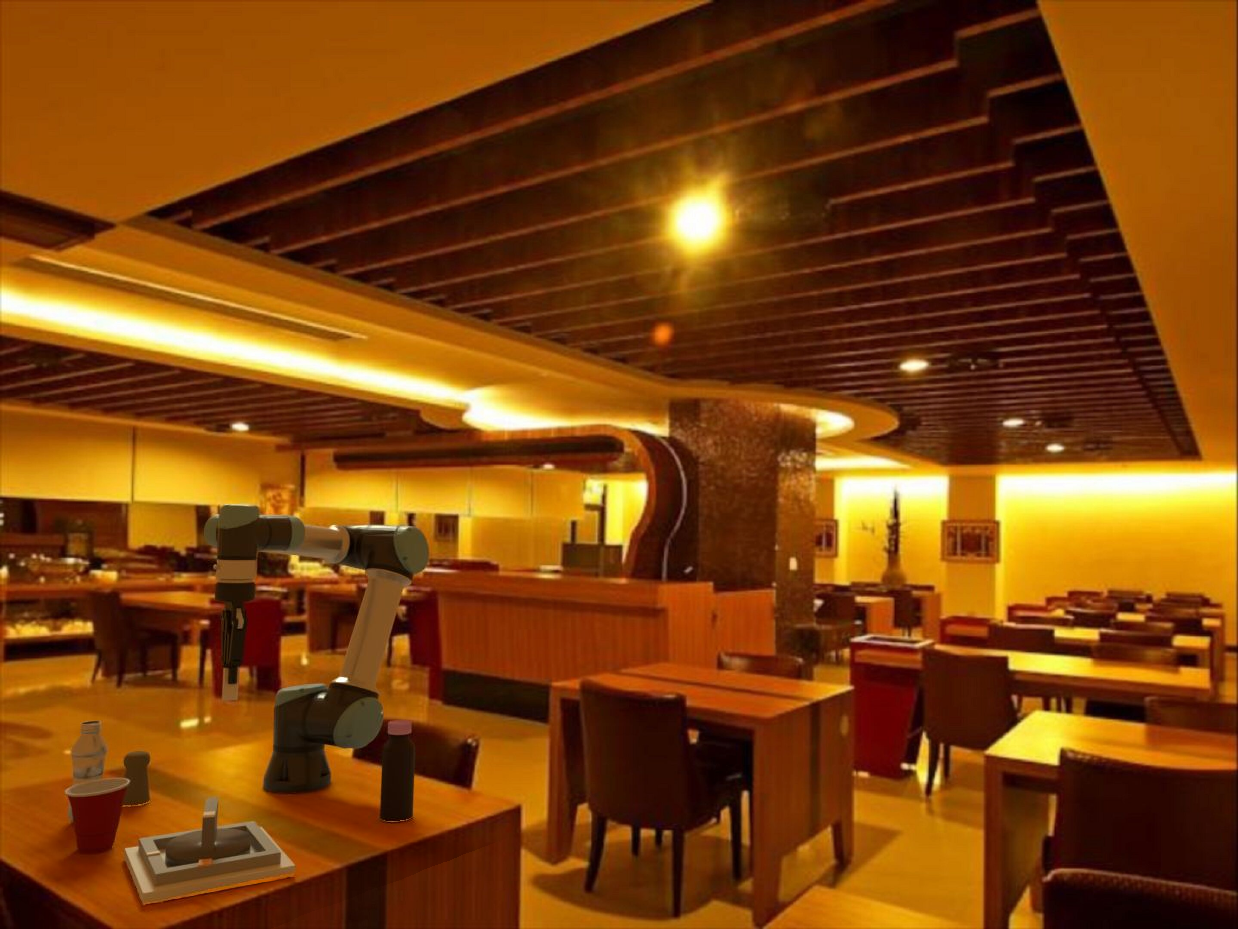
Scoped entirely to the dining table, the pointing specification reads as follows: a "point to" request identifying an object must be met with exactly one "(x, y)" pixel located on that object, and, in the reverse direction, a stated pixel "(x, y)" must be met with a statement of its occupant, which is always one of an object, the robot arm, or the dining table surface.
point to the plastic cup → (97, 812)
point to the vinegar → (397, 773)
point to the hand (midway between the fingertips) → (229, 699)
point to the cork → (137, 777)
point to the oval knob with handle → (207, 841)
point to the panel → (203, 865)
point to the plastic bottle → (88, 755)
